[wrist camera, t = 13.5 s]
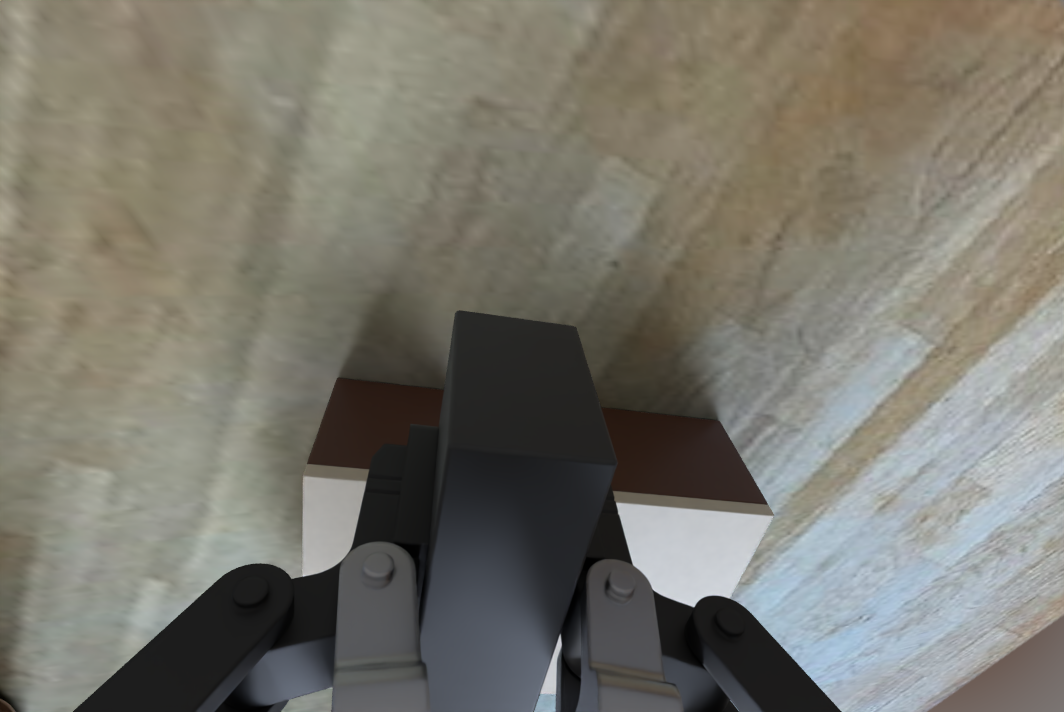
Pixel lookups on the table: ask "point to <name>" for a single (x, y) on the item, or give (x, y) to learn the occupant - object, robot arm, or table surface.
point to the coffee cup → (5, 707)
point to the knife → (509, 509)
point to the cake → (682, 506)
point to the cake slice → (353, 459)
